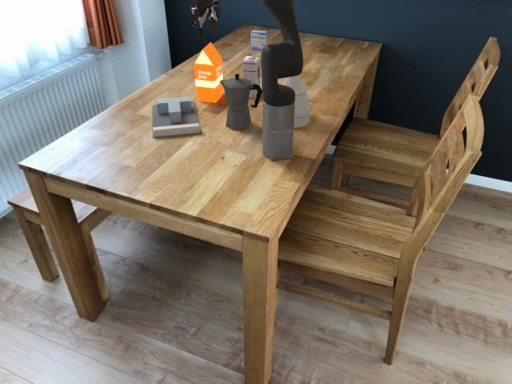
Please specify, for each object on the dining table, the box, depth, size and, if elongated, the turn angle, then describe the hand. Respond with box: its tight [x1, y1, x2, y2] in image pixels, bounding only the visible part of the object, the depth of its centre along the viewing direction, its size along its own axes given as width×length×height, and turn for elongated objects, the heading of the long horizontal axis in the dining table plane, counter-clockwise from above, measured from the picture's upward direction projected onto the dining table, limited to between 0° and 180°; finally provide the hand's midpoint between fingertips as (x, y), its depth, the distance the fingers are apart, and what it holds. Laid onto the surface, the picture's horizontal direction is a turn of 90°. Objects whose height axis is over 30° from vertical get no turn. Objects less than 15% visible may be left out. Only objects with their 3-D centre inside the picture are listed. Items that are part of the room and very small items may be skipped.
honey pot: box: [280, 75, 312, 129], centre depth 148 cm, size 13×13×18 cm
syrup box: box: [241, 55, 261, 99], centre depth 166 cm, size 6×6×14 cm
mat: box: [151, 101, 203, 140], centre depth 154 cm, size 26×16×1 cm, turn 11°
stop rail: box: [152, 123, 201, 137], centre depth 144 cm, size 2×15×2 cm, turn 101°
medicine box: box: [250, 29, 270, 52], centre depth 213 cm, size 8×4×9 cm, turn 73°
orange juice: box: [193, 42, 224, 104], centre depth 163 cm, size 8×9×20 cm
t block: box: [156, 95, 192, 123], centre depth 155 cm, size 12×12×4 cm
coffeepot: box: [219, 73, 263, 131], centre depth 145 cm, size 15×9×18 cm, turn 66°
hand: (206, 35), depth 154 cm, fingers open, 8 cm apart
